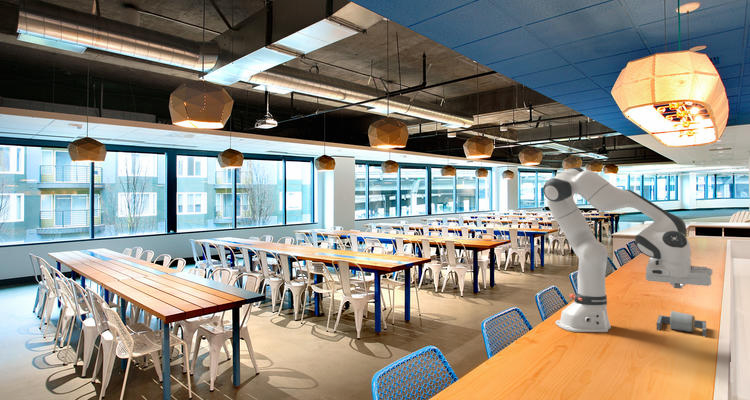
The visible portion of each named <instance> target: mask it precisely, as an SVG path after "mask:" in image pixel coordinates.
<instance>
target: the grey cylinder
mask: <svg viewBox="0 0 750 400" xmlns="http://www.w3.org/2000/svg"><path fill="white" fill-rule="evenodd" d="M669 317H670V324H669V328H670V330H675V331H681V332H687V333H694V332H695V329H696V328H695V320H696V317H695V316H694V315H692V314H690V313H683V312H679V311H674V310H671V312H670V315H669Z"/></svg>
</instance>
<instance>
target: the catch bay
mask: <svg viewBox="0 0 750 400" xmlns="http://www.w3.org/2000/svg"><path fill="white" fill-rule="evenodd" d="M663 324H667V325H670V315H669V316H668V315H662V314H660V315H659V314H658V318H657V320H656V323H655V325H656V331H661V329H662V326H663ZM695 327H697V328H696V329H701V330H702V333H701V334H702V337H703V336H705V337H704V338H707V321H705V320H700V319H695Z"/></svg>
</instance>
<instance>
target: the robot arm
mask: <svg viewBox="0 0 750 400" xmlns="http://www.w3.org/2000/svg"><path fill="white" fill-rule="evenodd" d="M542 192H543V195H544V196H545V198H546V199H547V200H546V201H547V206H548V207H549V210H550V212H551V216H552V217H553V218H554V219H555V221H556V223H557V225H558V226H559V228H560V230H561V231H562V233H563V235H564V236H565V238H566V240H567V242H568V243H569V246H570V247H571V249H572V250H573V253H574V254H575V255H576V257H577V258H578V266H577V267H578V269H577V275H576V276H577V281H576V282H577V292H576V294H573V293H570V294H569V298H571V299H573V302H572V303H571V304H569V305H568V306H566V307H565V308H564V309H562V311H561V315H560V319H557V320H555V325H556V326H557V327H559V328H561V329H563V330H566V331H568V332H573V333H574V332H576V333H582V332H583V333H608V332H609V330H610V329H611V328H612V327H611V323H610V320H609V314H608V310H607V309H608V308H607V306H608V296H607V294H606V293H607V291H606V273H607V264H608V256H609V255H608V250H607V248H606V246H605V244H603V243H602V242H600V241H599V240H597V238H596V236H595V235H594V233H593V230H592V229H591V227H590V225H589V222H588V221H587V219H586V217H585V216H584V215H583V213H582V211H581V210H580V208H579V206H578V205H577V204H576V202H575V200H574V195H575V194H577V195H579V196H581V197H582V198H583V199H584V201H586V202H587V203H588V204H589V205H591V206H592V207H593V208H594V209H596V210H597V211H601V212H612V211H613V212H614V211H616V210H621V209H624V208H632V209H635V210H637V211H639V212H641V213H642V214H643V215H645V216H646V217H648V218H650V219H652V220H653V222H652V223H651V224H649V225H648V226H647V227H645V228H644V229H643V230H641V231H640V232H639V233H637V235H635V237H634V242H635V245H636V248H637V249H638V251H639V252H640V253H641V254H642V255H645V256H646V257H649V258H648V262H647V264H646V268H645V280H646V281H647V282H658V283H669V284H670V285H671V286H672V288H673V289H679V290H680V289H681V290H682V289H683V287H685V286H686V285H690V286H691V285H693V286H707V287H709V286H711V285H712V277H711V276H712V275H713V269H712V268H710V267H707V266H696V265H692V259H691V256H692V251H691V245H690V242H689V241H690V240H688V238H687V236H686V235H687V225H686V222H685V221H684V220H683V219H682V218H681V217H680V216H677V215H676V214H673V213H671V212H668V211H666V210H665V209H663V208H661V207H660V206H658V205H657V204H655V203H654V202H651V201H650V200H648V199H647V198H646V197H644V196H642V195H641V194H639V193H637V192H635V191H632V190H631V189H622V188H618V187H616V186H614V185H612V184H611V183H610V182H609V181H607V180H606V179H605V178H604V177H602V176H601V175H599V174H598V173H596V172H594V171H592V170H590V169H585V170H584V169H583V168H581V167H578V166H577V167H576V166H575V167H574V166H573V167H569V168H567V169H566V170H563V171H561V172H559V173H557V174H555V176H553V177H552V178H550V179H548V180H547V181H546V182H545V183H544V184H543V187H542Z"/></svg>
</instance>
